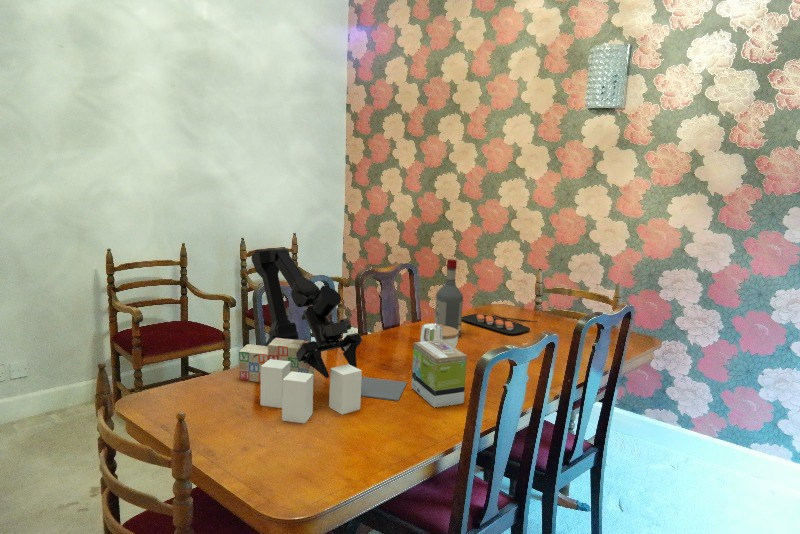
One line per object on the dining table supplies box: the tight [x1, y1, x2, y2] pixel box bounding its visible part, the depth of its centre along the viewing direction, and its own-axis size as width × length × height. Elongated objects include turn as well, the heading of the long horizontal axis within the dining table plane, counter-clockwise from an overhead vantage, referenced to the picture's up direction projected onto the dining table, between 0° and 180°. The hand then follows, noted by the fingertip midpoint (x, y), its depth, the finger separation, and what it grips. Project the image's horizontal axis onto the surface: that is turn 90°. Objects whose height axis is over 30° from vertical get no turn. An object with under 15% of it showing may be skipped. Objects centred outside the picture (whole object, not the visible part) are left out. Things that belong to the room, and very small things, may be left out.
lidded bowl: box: [440, 324, 459, 349], centre depth 206 cm, size 13×13×11 cm
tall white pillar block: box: [281, 371, 314, 424], centre depth 151 cm, size 6×6×11 cm
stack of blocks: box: [238, 338, 315, 383], centre depth 175 cm, size 21×6×12 cm, turn 80°
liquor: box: [434, 258, 464, 338], centre depth 228 cm, size 9×9×30 cm
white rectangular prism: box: [328, 363, 363, 415], centre depth 158 cm, size 6×6×11 cm
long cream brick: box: [259, 359, 291, 409], centre depth 159 cm, size 6×6×11 cm
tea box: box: [411, 340, 468, 409], centre depth 169 cm, size 15×10×15 cm, turn 24°
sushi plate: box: [461, 313, 539, 335], centre depth 253 cm, size 29×30×4 cm
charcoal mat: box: [361, 376, 408, 402], centre depth 173 cm, size 14×14×1 cm
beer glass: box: [419, 323, 442, 342], centre depth 189 cm, size 7×7×15 cm
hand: (342, 373), depth 159 cm, fingers open, 9 cm apart
